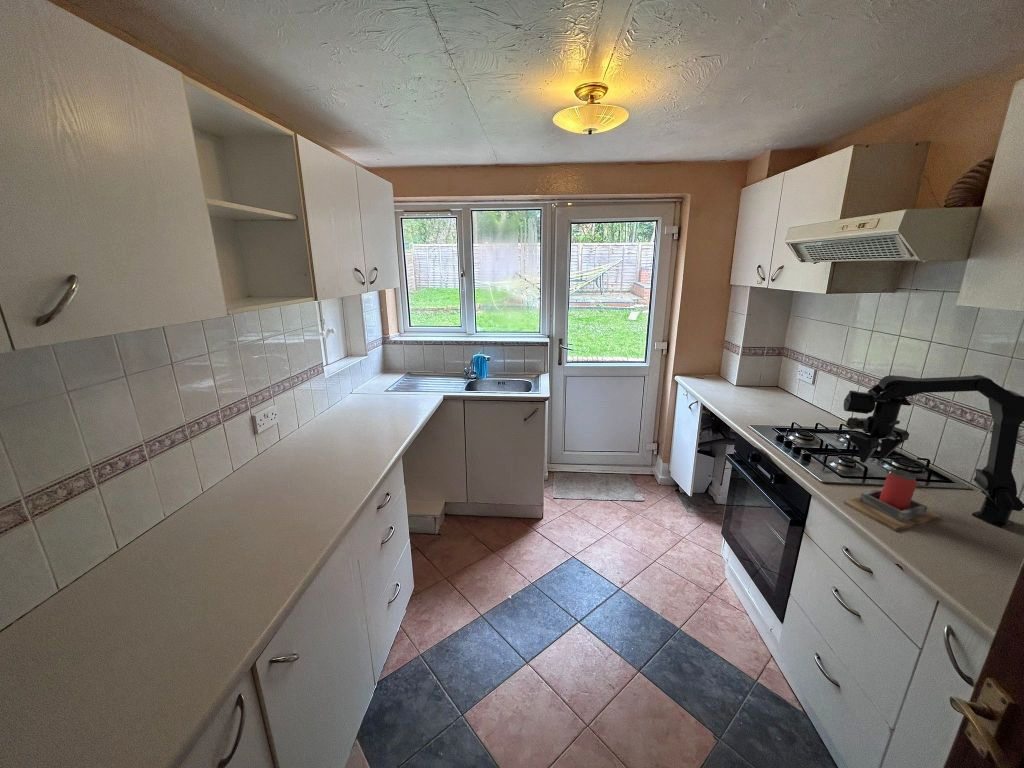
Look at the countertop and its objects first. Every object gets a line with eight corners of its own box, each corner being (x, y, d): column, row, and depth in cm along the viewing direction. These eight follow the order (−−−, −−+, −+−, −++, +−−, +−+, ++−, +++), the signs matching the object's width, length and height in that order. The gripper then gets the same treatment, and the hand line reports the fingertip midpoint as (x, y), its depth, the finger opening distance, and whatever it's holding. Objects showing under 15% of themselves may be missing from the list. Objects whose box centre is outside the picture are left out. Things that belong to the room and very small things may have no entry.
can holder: (885, 493, 132) (889, 482, 131) (939, 518, 120) (943, 507, 118) (843, 503, 126) (846, 492, 125) (895, 531, 114) (899, 519, 113)
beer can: (891, 501, 126) (903, 468, 122) (912, 514, 120) (925, 479, 116) (871, 502, 126) (882, 468, 122) (891, 514, 119) (903, 480, 116)
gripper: (876, 404, 135) (864, 445, 139) (836, 410, 129) (826, 453, 134) (916, 415, 124) (902, 460, 129) (875, 423, 119) (862, 469, 124)
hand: (872, 460), depth 129 cm, fingers open, 9 cm apart
